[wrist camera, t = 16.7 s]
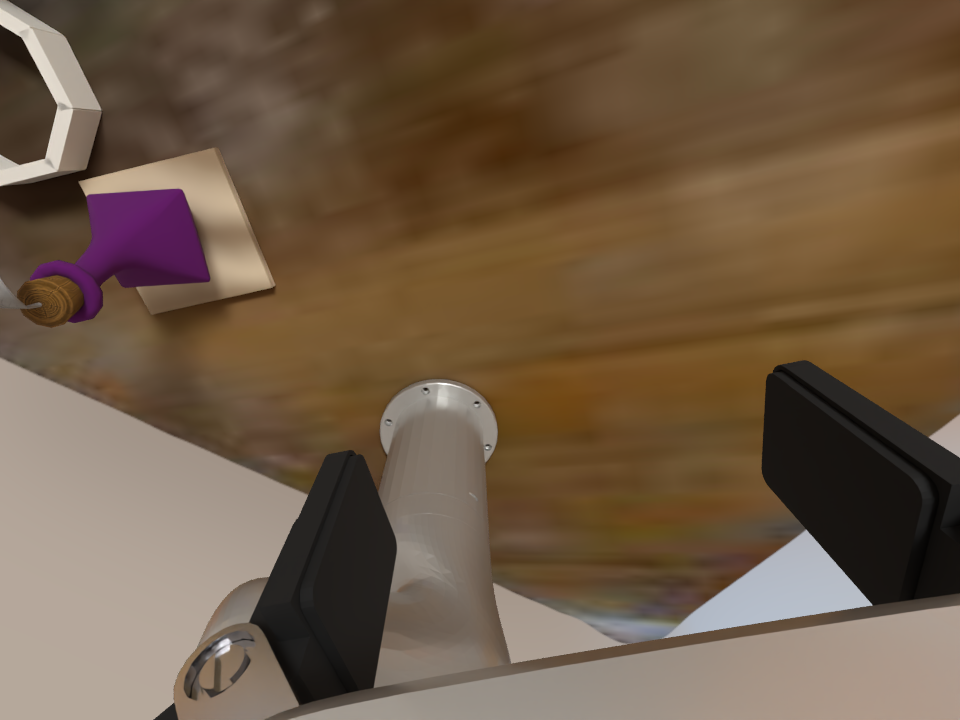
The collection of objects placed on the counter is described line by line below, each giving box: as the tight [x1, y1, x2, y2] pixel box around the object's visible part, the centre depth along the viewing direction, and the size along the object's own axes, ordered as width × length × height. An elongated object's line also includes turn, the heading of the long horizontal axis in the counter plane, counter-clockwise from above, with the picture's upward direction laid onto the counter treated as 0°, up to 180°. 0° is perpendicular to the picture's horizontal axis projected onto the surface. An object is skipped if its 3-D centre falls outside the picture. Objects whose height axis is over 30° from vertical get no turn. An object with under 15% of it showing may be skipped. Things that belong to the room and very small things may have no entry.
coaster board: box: [79, 148, 275, 315], centre depth 41 cm, size 12×12×1 cm
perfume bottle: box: [0, 188, 210, 328], centre depth 33 cm, size 8×8×18 cm
